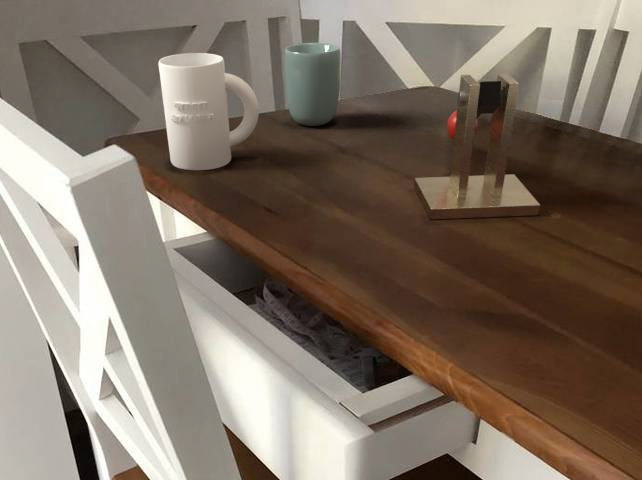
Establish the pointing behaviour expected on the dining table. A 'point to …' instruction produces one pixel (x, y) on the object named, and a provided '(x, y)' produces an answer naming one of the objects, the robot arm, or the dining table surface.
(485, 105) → the switch
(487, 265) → the dining table surface
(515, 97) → the bracket
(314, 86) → the cup
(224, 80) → the mug
